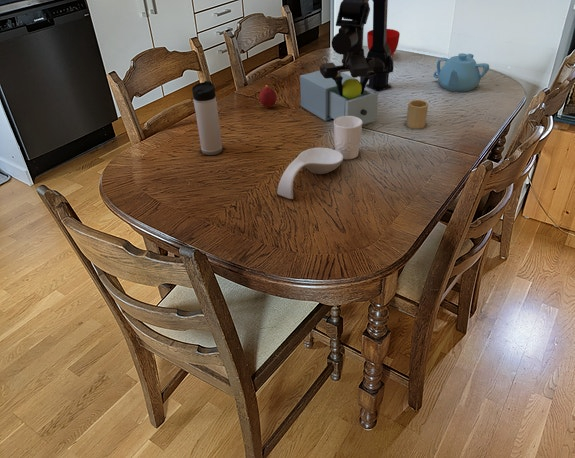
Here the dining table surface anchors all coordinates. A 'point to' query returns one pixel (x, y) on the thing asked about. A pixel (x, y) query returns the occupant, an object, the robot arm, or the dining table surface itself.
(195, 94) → the travel mug
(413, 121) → the stand
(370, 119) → the drawer
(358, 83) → the ball
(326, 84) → the cabinet
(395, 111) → the dining table surface
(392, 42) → the ceramic cup
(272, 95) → the onion
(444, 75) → the teapot
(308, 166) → the spoon rest
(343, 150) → the white cup
